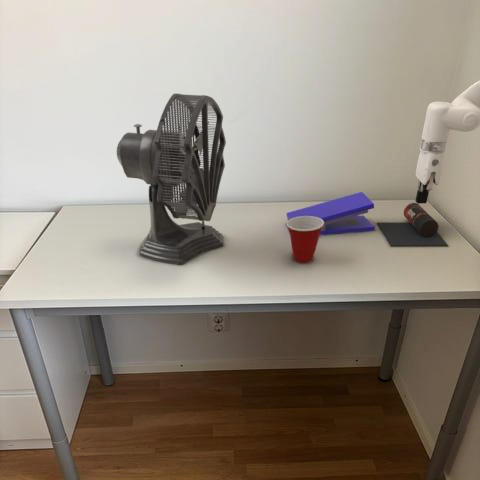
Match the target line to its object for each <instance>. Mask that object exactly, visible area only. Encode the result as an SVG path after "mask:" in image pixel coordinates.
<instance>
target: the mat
mask: <svg viewBox="0 0 480 480" xmlns="http://www.w3.org/2000/svg"><path fill="white" fill-rule="evenodd" d="M376 224H377V225H378V227H379V229H380V230H381V233H382V234H383V236H384V238H385V239H386V241H387V242H388V244H389V246H390V247H394V248H395V247H397V248H398V247H448V246H449V245H448V244H447V242H446V241H445V240H444V238H443V237H442V236H441V234H439V233H438V231H437V232H436V234H434V235H433V236H431V237H424V236H422V235H421V234H420V232H419V231H418V230H417V229H416V228H415V227H414V226H413V225H412V224H411V223H410V222H409V221H407V222H405V221H403V222H402V221H401V222H399V221H398V222H397V221H396V222H394V221H393V222H391V221H390V222H388V221H387V222H386V221H385V222H376Z"/></svg>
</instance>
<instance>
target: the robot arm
mask: <svg viewBox="0 0 480 480" xmlns="http://www.w3.org/2000/svg"><path fill="white" fill-rule="evenodd" d="M425 113H426V114H425V118H424V124H423V129H422V134H421V139H420V144H419V148H418V150H419V151H420V152H419V155H418V159H417V163H416V168H415V177H416V179H417V181H418V182H417V183H418V184H417V192H416V196H415V203H417V204H427V202H428V199H429V193H430V191H432V190H433V188H434V187H433V186H434V185H435V186H438V185H439V184H440V181H441V176H442V170H443V163H444V153H445V152H446V147H447V143H448V137H449V133H450V130H452V131H459V132H465V133H467V132H468V133H469V132H472V131H475V130H477V128H479V127H480V79H479V80H478V81H476V82H475V83H473V84H472V85H470V86H469V87H468V88H466V89H465V90H464V91H463V92H462V93H460V94H459V95H458V96H457V97H456V98H455V99H454V100H452V101H451V102H447V101H433V102H430V103H429V104H428V106H427V108H426V112H425Z"/></svg>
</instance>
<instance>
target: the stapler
mask: <svg viewBox="0 0 480 480" xmlns="http://www.w3.org/2000/svg"><path fill="white" fill-rule="evenodd" d="M372 209H375V203H374V202H373V201H372V200H371V199H370V198H369V196H367V195H366V194H365V193H364V192H363V191H360V192H357V193H353V194H349V195H346V196H342V197H339V198H335V199H331V200H327V201H325V202H321V203H317V204H314V205H310V206H306V207H302V208H299V209H296V210H292V211H289V212H286V219H287V221H288V220H290V219H291V218H295V217H300V216H313V217H318V218H320V219H322V220H323V221H324V224H323V227H322V229H321V232H320V235H319V236H321V235H332V234H333V235H334V234H345V233H357V232H370V231H375V229H376V226H375V225H374V224H373V223H372V222H371V221H370V220H369V219H368V218H367V217H366V216H365V214H368V213H369V210H372Z"/></svg>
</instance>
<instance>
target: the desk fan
mask: <svg viewBox="0 0 480 480" xmlns="http://www.w3.org/2000/svg"><path fill="white" fill-rule="evenodd" d="M199 118H201V120H199ZM214 119H216V120H215V121H214ZM223 120H224V115H223V113H222V110H221V108H220V106H219V104H218V103H217V101H216V100H215V99H214V98H213V97H211V96H210V95H205V94H204V95H203V94H201V95H199V94H182V93H173V94H171V96H170V97H169V99H168V100H167V102H166V103H165V106H164V109H163V111H162V114H161V115H160V119H159V120H158V121H159V122H158V125H157V128H156V129H148V130H146V131H145V132H144V133H141V127H143V125H142V124H140V123H135V124H134V125H133V128H135V129H136V132H126V133H125V134H124V135H123V136H122V137H121V139H120V140H119V142H118V143H117V146H116V158H117V161H118V162H119V164H120V166H121V167H122V169H123V170H122V171H123V173H124V175H125V176H126V178H129V179H138V180H142V181H144V182H145V184H146V185H149V186H148V204H149V215H150V228H149V231H148V232H147V235H146V237H145V238H144V239H143V241H142V242H141V244H140V246H139V250H138V254H139V257H142V258H145V259H148V260H151V261H154V262H158V263H162V264H163V263H164V264H169V265H176V266H177V265H178V266H181V265H184V264H185V263H187V262H188V261H189V260H191V259H193V258H195V257H197V256H199V255H201V254H203V253H207V252H208V251H212V250H215V249H219V248H222V247H224V243H223V241H222V238H223V234H222V233H221V232H219V231H218V230H217V229H216V228H215V227H213V226H212V225H207V224H205V221H206V222H210V221H211V220H212V217H213V213H214V210H215V208H216V206H217V202H218V201H217V200H218V195H219V190H220V184H221V181H222V177H223V174H224V170H225V166H226V163H225V158H224V151H225V147H226V145H227V142H226V136H225V132H224V129H223ZM210 121H211V123H210ZM200 123H201V126H199V125H200ZM212 123H213V124H212ZM213 126H214V127H213ZM210 141H212V143H210ZM209 143H210V144H209ZM167 210H168V211H169V212H170V214H171V216H172V217H171V216H170V215H169V212H168V211H167ZM172 218H173V219H183V220H184V219H185V220H194V221H196V222H190V223H183V224H178V223H177V222H175V221H174V220H173V219H172Z"/></svg>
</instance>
